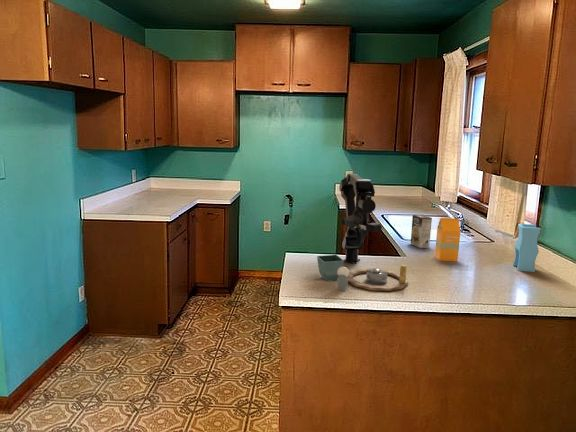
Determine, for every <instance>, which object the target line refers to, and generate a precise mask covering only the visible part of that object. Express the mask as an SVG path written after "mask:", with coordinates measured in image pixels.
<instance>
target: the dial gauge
mask: <svg viewBox="0 0 576 432" xmlns="http://www.w3.org/2000/svg"><path fill="white" fill-rule="evenodd" d="M349 272H350V270H349V269H348V267H345V266H343V267H340V268H339V269H338V270H337V274H338V279H337V290H338V291H343V292H346V291H347V290H348V287H349V282H348V275H349Z"/></svg>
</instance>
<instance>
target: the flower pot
mask: <svg viewBox="0 0 576 432" xmlns="http://www.w3.org/2000/svg"><path fill="white" fill-rule="evenodd" d="M316 259H317V267H318V272H319V274H320V276H321V277H322V278H323V280H325V281H326V282H327V281H338V274H337V270H338V269H339V268H340V267H344V263H345V262H344V259H343V258H341V257H340V256H339V255H337V254H328V255H325V254H324V255H317V257H316Z"/></svg>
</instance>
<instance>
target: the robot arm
mask: <svg viewBox="0 0 576 432" xmlns="http://www.w3.org/2000/svg"><path fill="white" fill-rule="evenodd" d="M374 186H375V185H374V184H373V182H372V180H371V179H364V178H362V177H361V176H360V175H359V174H358V173H347V174H346V176H345V177H344V178H343V179H341V181H340V184H339V187H338V188H339V192H340V196H341V198H342V199H343V200H344V203H345V214H346V217H343V218H342V219H341V225H343V226H345V227H346V228H347V230H346V231H345V234H344V237H343V240H342V243H341V244H342V245H341V246H342V249H343V250H345V258H344V259H343V260H344V263H349V264H351V263H352V264H357V263H358V262H360V260H361V259H360V258H359V250H363V247H364V242H365V238H366V236H367V235H368V233H369V232H371V233H375V232H380V231H382V229H383V227H382V224H381V223H378V222H371V220H370V219H369V214H371V213H373V212H374V211H375V210H376V207H377V205H376V202H375V201H374V200H373V199H372V197H374V198H375V193H376V190H375V187H374Z"/></svg>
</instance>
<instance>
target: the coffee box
mask: <svg viewBox="0 0 576 432" xmlns="http://www.w3.org/2000/svg"><path fill="white" fill-rule="evenodd" d="M432 221H433V218H432V217H430V216H428V215H425V214H412V221H411V234H410V235H411V236H410V244H411V245H413V246H415V247H417V248H418V249H422V248H430V243H431V233H432Z"/></svg>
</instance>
